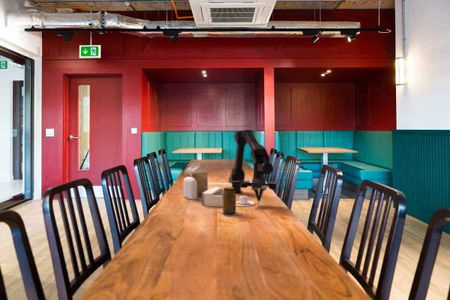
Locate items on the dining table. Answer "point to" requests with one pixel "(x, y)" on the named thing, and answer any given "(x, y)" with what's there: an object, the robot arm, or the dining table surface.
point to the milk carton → (198, 177)
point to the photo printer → (190, 188)
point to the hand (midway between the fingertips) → (259, 201)
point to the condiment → (229, 202)
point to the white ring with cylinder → (244, 201)
